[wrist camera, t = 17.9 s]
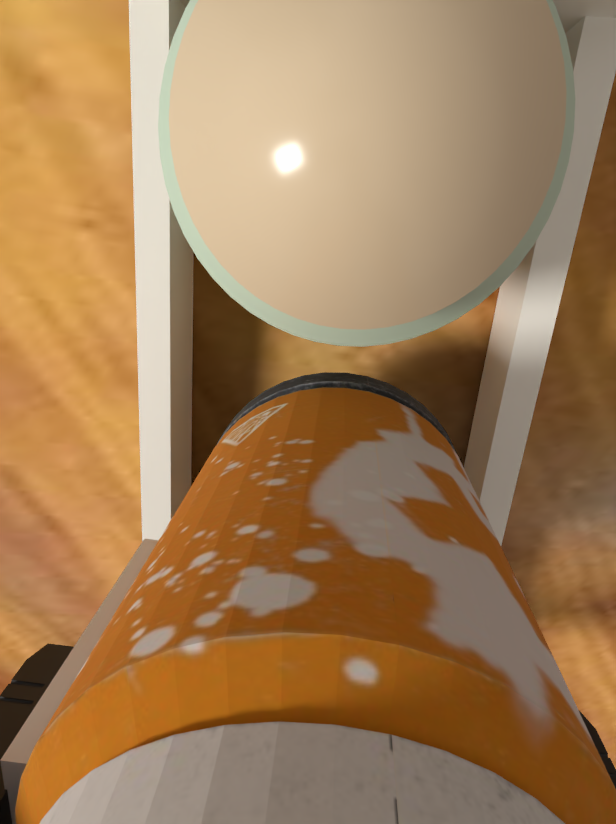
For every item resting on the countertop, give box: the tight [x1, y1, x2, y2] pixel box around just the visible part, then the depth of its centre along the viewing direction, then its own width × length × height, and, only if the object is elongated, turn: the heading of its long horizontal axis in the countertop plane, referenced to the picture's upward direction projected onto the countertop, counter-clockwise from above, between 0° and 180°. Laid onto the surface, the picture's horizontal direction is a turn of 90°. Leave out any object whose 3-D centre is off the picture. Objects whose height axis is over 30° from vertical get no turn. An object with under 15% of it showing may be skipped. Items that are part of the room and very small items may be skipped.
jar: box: [158, 0, 575, 347], centre depth 15 cm, size 8×8×11 cm
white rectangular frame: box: [129, 0, 616, 546], centre depth 21 cm, size 32×14×5 cm, turn 175°
